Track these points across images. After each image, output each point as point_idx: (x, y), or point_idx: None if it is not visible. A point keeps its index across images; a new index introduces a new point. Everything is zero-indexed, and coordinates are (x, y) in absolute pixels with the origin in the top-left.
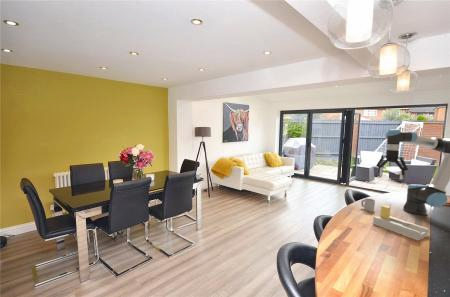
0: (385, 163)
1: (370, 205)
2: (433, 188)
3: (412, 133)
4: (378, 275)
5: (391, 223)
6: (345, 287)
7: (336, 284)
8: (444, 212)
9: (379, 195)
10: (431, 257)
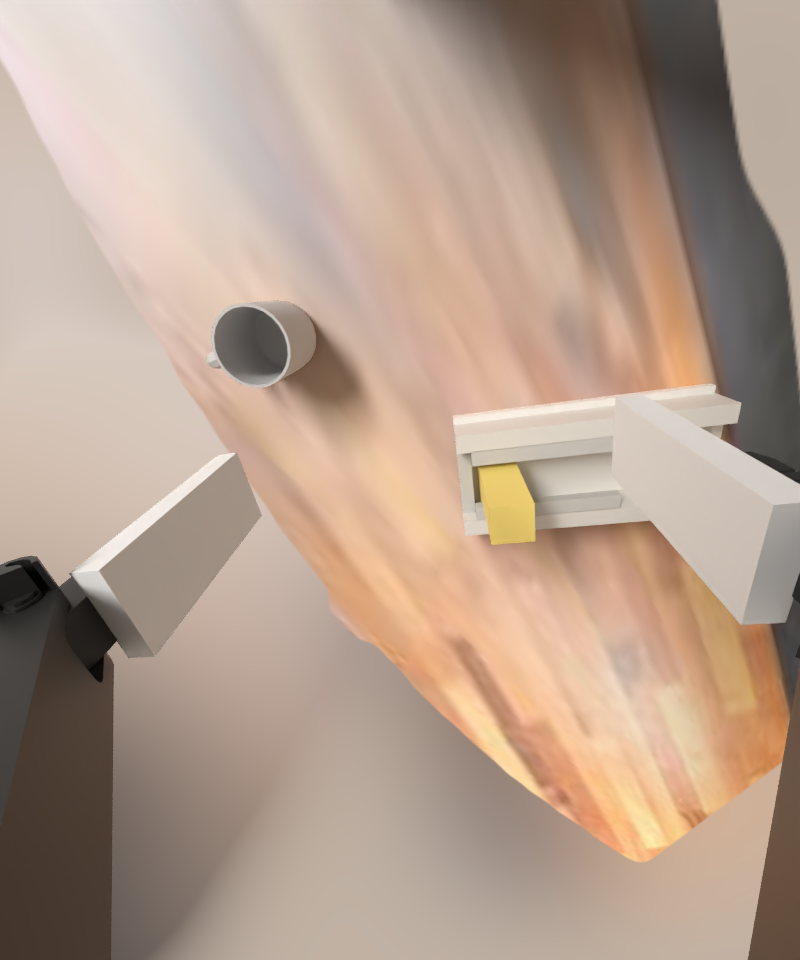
0: (55, 790)
1: (297, 366)
2: None
3: None
4: (689, 775)
5: (567, 525)
6: (663, 836)
7: (647, 840)
8: None
9: None
10: None
